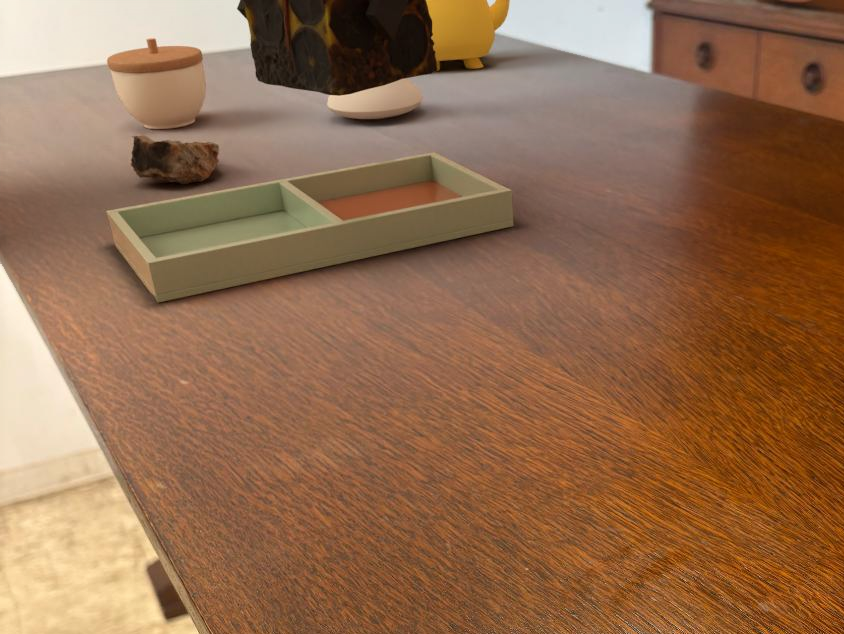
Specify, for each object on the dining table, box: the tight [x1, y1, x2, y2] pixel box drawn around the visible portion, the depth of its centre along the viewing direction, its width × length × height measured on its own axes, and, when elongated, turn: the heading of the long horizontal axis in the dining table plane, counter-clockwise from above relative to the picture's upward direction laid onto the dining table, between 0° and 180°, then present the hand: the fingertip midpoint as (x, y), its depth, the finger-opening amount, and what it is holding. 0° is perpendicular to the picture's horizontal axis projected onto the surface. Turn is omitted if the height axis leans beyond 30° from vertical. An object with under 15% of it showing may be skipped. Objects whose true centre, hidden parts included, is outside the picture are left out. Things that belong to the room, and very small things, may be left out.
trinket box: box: [106, 37, 207, 130], centre depth 129 cm, size 11×11×9 cm
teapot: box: [426, 0, 510, 72], centre depth 152 cm, size 14×20×13 cm
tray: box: [106, 151, 514, 304], centre depth 92 cm, size 16×30×3 cm, turn 119°
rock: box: [130, 135, 220, 185], centre depth 110 cm, size 9×6×10 cm
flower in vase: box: [326, 78, 424, 120], centre depth 123 cm, size 13×11×25 cm
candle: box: [244, 0, 438, 96], centre depth 81 cm, size 10×10×10 cm
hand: (313, 24), depth 79 cm, fingers closed on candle, 11 cm apart
